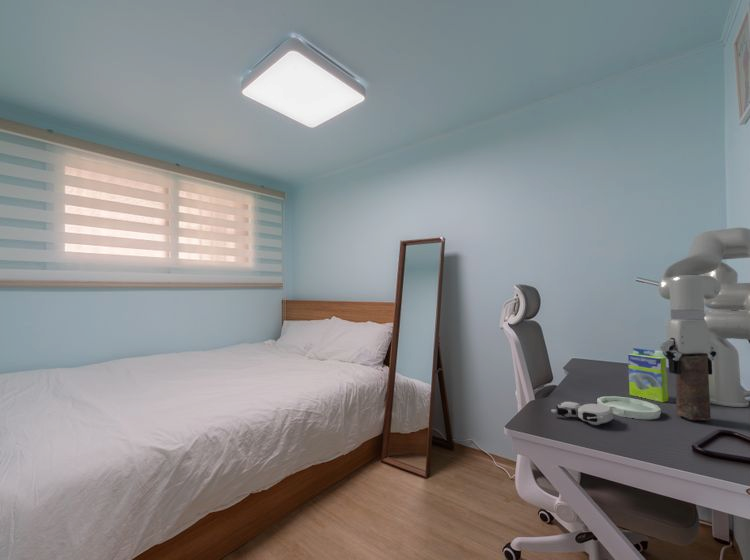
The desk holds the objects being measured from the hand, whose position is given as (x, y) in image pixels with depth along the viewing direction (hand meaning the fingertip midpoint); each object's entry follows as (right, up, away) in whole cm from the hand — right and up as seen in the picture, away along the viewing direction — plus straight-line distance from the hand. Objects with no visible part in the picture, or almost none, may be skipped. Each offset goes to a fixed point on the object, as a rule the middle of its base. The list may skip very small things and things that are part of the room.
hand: (690, 373), depth 99 cm
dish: (-13, -14, +8) cm, 21 cm away
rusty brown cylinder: (+1, -14, 0) cm, 14 cm away
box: (+5, -15, +21) cm, 26 cm away
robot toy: (-31, -14, +1) cm, 35 cm away
